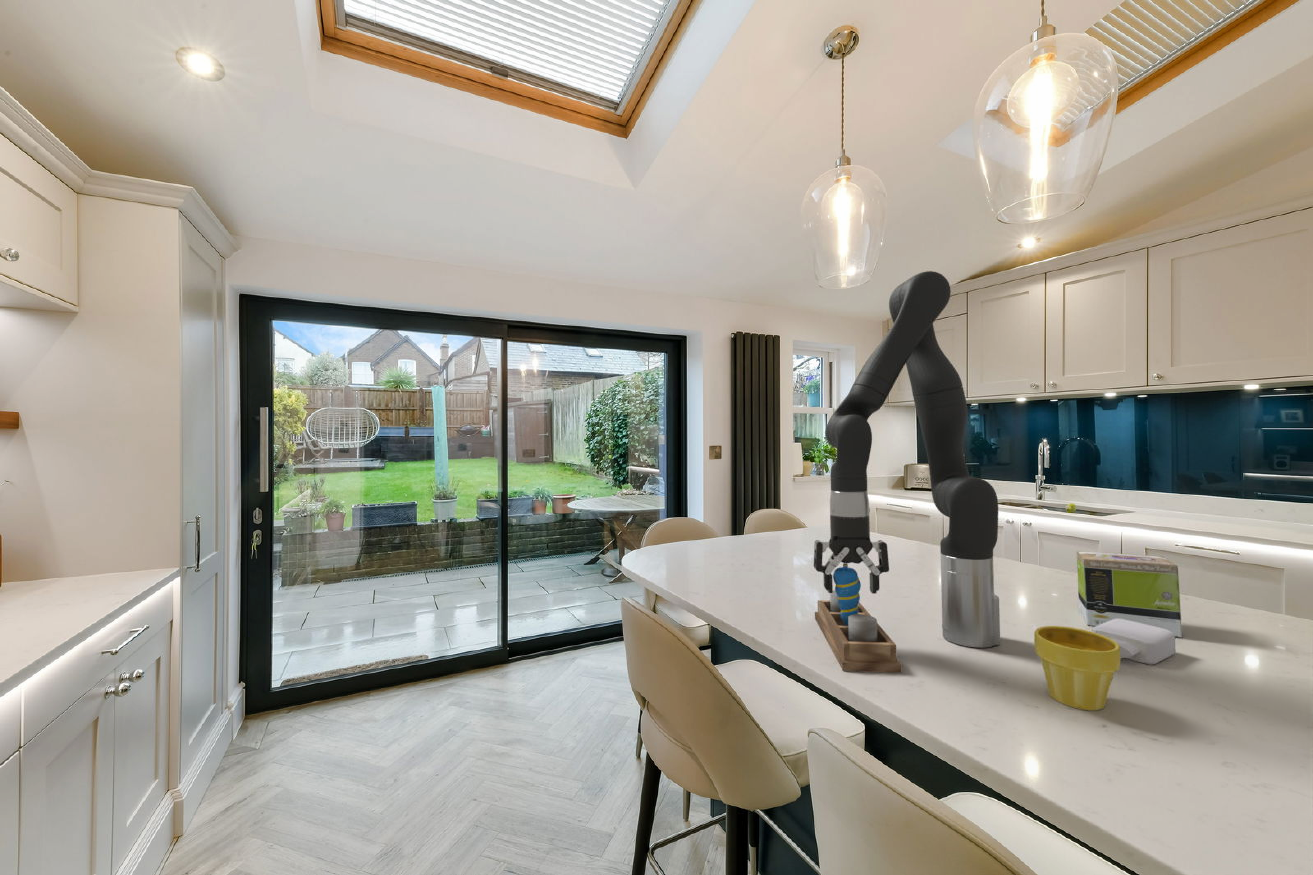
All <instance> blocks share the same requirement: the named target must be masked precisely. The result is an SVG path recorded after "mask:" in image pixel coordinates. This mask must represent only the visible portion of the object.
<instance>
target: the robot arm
mask: <svg viewBox="0 0 1313 875" xmlns="http://www.w3.org/2000/svg"><path fill="white" fill-rule="evenodd" d="M951 293H952V292H951V285H950V282H949V281H948V279H947V278H946V277H945V275H944V274H941V273H939V272H937V271H932V270H931V271H930V270H926V271H922V272H920V273H917V274H915V275H912V276H911V277H910V278H908V279H907V280H905V281H903V282H902V283H901V284H899V285H898V286H897V287H896V288H894V290H892V292H891V294H890V296H889V301H888V308H889V313H890V317H891V319H892V322H893V324H892V326H891V327H890V329H889V331H888V332H887V334H886V335H885V336H884V338H883V339H882V340H881V342H880V343H879V344H878V345H877V347H876V348H875V350H873V351H872V353H871V354H870V356H868V358H867V360H866V361H865V363H864V365H863V366H862V367H861V369H860V371H859V373H858V374H857V377H856V378H855V380H854V383H853V384H852V386H851V388H850V390H849V392H848V393H847V396H846V397H845V398H843V400H842V401H841V403H840V404H839V405H838V407H837V408H836V410H835V411H834V412H833V413H832V415H831V416H830V418H829V420H828V422H827V424H826V427H825V432H824V433H825V439H826V442H827V443H828V444H829V445H830V446H831V447H832V448H835V449H836V457H835V458H836V459H835V460H836V461H835V462H834V463H833V464H832V465H831V468H830V497H829V526H830V528H829V529H830V539H829V540H828V541H820V540H819V539H817V540H815V541H814V546H813V548H814V551H813V552H814V553H813V567H814V569H815V570H816V572H819V573H823V587H824V589H825V590H826V591H827V593H828V594H830V593H833V591H834V590H833V589H834V588H833V587H834V586H833V574H832V573H833V572H834V571H835V570H836V568H838V566H839V565H840V563H842V564H846V563H847V564H851V563H852V564H861V563H862V562H863V563H864V565H865V566H866V567H867V568H868V570H869V571H870V572H869V573H868V574H869V591H870V593H871V594H873V595H875V594H876V595H877V591H878V592H879V591H880V575H881V574H882V573H888V572H889V571H890V563H889V553H888V552H889V551H888V550H889V549H888V544H887V543H886V542H885V541H883V540H877V541H871V530H870V528H871V526H870V524H871V523H870V511H871V509H870V500H869V494H868V473H867V472H868V470H867V469H868V465H869V461H870V456H871V450H872V444H873V432H872V428H871V425H870V424H869V422H868V420H869V418H870V417H871V416H872V415H873V414H874V413H876V412H877V411H879V410H881V408H882V407H883V405H884V404H885V402H886V400H887V398H888V396H889V394H890V392H891V391H892V389H893V387H894V386H895V383H896V381H897V379H898V378H899V376H900V373H901V372H902V370H903V369H904V366H906V369H907V374H908V379H909V382H910V386H911V393H912V397H913V398H912V399H913V402H914V407H915V410H916V415H917V418H918V422H919V426H920V430H921V435H922V439H923V444H924V447H925V452H926V455H927V462H928V471H929V478H930V479H929V480H930V487H931V495H932V500H933V504H934V506H935V508H936V509H937V510H938V511H939V512H940V514H942V515H944V516H945V517H948V521H949V522H948V523H949V525H948V534H947V535H946V536H945V537H943V538H942V539H941V540H940V543H939V544H940V545H939V546H940V548H939V549H940V580H941V581H940V584H941V585H940V588H941V590H940V591H941V622H942V623H941V628H942V632H941V633H942V637H943V638H944V639H945V640H947V641H948V642H951V643H953V644H956V645H960V646H964V647H969V648H982V649H983V648H984V649H985V648H991V647H994V646H1001V624H1000V623H1001V620H1000V618H1001V616H1000V598H999V596H998V595H996V594H995V580H994V578H995V577H994V575H995V573H994V572H995V571H994V549H995V547H996V545H997V541H998V539H999V538H998V537H999V536H998V534H999V501H998V500H999V499H998V495H997V492H996V490H995V488H994V487H993V485H992V484H990V482H988V481H987V480H985V479H983V478H980V477H975V476H971V475H970V472H969V469H968V466H967V461H966V457H965V453H964V451H965V450H964V442H965V441H964V440H965V434H966V428H967V423H968V414H969V413H968V403H967V398H966V394H965V391H964V387H963V386H964V385H963V381H962V379H961V377H960V375H959V373H958V371H957V370H956V368H955V366H954V365H953V364H952V362H951V361H950V360H949V359H948V357H947V356H946V354H945V353H944V352H943V350H942V349H941V347H940V345H939V343H938V340H937V337H936V332H935V327H934V322H935V321H936V320H937V318H938V317H939V316H940V315H941V314H942V312H943V311H944V309H945V308H946V307H947V306H948V303H949V301H950V299H951ZM828 548H829V549H830V551H831V552H832V554H831V555H830V556H829V558H828V560H827V561H826V563H825V564H824V565H823V553H825V552H826V551H827V549H828ZM873 548H874V551H875V552H876V553H877V555H878V565H876V564H875V563H874V562H873V561H872V559H871V558H870V557H869V556H868V555H869V554H870V552H871V551H872V550H873ZM834 569H835V570H834Z"/></svg>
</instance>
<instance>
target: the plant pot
mask: <svg viewBox="0 0 1313 875" xmlns="http://www.w3.org/2000/svg"><path fill="white" fill-rule="evenodd" d="M1033 633H1034V638H1033V639H1034V641H1033V642H1034V650H1035V653H1036V655H1037V656H1038V657H1039V658H1040V661H1041V664H1042V669H1043V673H1044V677H1045V680H1046V684H1047V689H1048V692H1049V693H1048V694H1049V695H1050V697H1052V698H1053V699H1054V700H1055V701H1056V702H1059V703H1061V704H1063V705H1065V706H1068V707H1071V708H1074V709H1078V710H1083V711H1099V710H1102V709H1104V707H1105V705H1106V701H1107V696H1108V694H1109V690H1110V687H1111V683H1112V680H1113V677H1114V673H1115V672H1118V671H1119V669H1120V668H1121V658H1120V646H1119V645H1118V643H1117V642H1115V641H1114V640H1112V639H1110V638H1108V637H1106V636H1103V635H1100V634H1098V633H1094V632H1092V630H1087V629H1083V628H1082V629H1081V628H1078V627H1077V628H1075V627H1070V626H1064V625H1063V626H1062V625H1044V626H1040V627H1038V628H1036V629H1035V630H1034V632H1033Z"/></svg>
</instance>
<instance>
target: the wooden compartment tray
mask: <svg viewBox="0 0 1313 875" xmlns="http://www.w3.org/2000/svg"><path fill="white" fill-rule="evenodd" d="M829 594H830V598H829V599H830V600H824V599H823V600H822V599H821V600H820V599H819V600H817V611H814V619H815V621H816V623H817V625H818V627H819V629H820V631H821V632H822V635H823V636H824V638H825V640H826V642H827V644H828V646H829V648H830V649H831V652H832V653H833V655H834V657H835V659H836V660H837V663H838V664H839V666H840V669H841V671H843V672H862V673H863V672H870V673H894V674H895V673H897V674H902V673H903V670H902V667H903V666H902V663H901V662H900V661H899V660H898V658H897V644H896V643H895V641H893V639H892V638H891V637H890V636H889V635H888V634H887V632H886V631H885V630H884V629H883V628H882V627H881V625H880V624H879V623H878V619H877V618H876V617H874V616H872V615H871V614H870V613H869V612H868V610H867V609H866V608H865V607H864V606H863V604H862V603H860V601H859V603H858V605H857V606H858V614H854V615H850V616H849V617H848V626H844V623H843V621H842V619H841V610H840V607H839V604H838V596H837V594H836V591H835V589H834V590H833V593H829Z"/></svg>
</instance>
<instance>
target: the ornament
mask: <svg viewBox="0 0 1313 875" xmlns="http://www.w3.org/2000/svg"><path fill="white" fill-rule="evenodd" d="M848 564H849V563H842V566H841V567H836V568H835V570H833V574H832V580H833V582H834V584H835V586H834V587H835V588H834V590H835V591H836V594H837V596H838V604H839V607H840V610H841V619H842V621H843V623H844V626H848V617H849V616H850V615H854V614H858V606H857V605H858V603H859V602H860V601H861V600H860V598H861V597H860V596H861V595H860V590H861V587H862V586H861V585H862V584H861V580H860V577H859V576H858V574H859V573H858V572H857V571H856V569H855V568H852V567H849V566H848Z"/></svg>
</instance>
